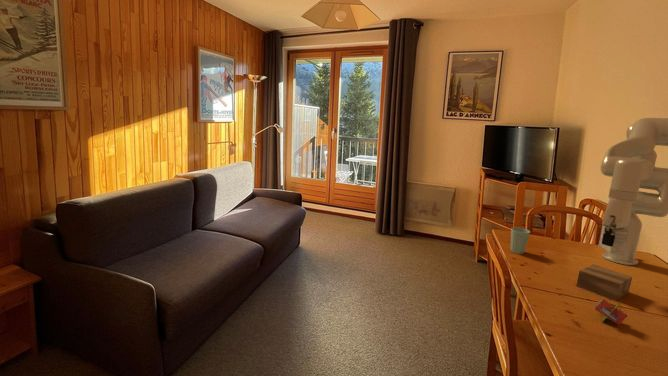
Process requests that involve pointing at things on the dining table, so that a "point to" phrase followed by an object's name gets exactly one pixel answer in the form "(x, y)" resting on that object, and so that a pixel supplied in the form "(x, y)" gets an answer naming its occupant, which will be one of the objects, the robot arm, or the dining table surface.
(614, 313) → the geometric puzzle
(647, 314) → the dining table surface
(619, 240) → the medicine box
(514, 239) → the cup
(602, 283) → the walnut block
